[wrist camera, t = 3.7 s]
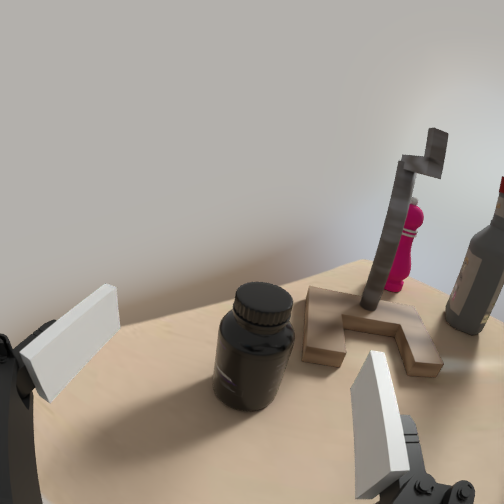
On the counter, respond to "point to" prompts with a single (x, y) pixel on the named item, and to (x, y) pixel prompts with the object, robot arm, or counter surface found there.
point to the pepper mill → (405, 248)
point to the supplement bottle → (253, 346)
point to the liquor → (479, 276)
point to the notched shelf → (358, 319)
